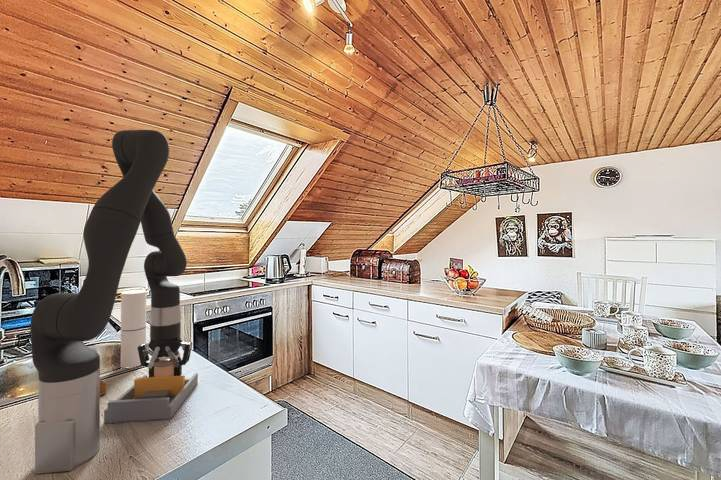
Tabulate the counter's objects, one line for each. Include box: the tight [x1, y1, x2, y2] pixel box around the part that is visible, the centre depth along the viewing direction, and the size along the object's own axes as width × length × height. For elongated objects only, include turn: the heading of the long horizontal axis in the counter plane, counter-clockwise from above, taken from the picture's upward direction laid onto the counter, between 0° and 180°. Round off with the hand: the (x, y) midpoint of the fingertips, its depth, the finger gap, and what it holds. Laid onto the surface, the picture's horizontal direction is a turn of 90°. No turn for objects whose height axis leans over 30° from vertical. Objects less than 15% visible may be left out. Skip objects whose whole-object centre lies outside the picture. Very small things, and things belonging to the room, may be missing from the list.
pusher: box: [133, 375, 186, 399], centre depth 88 cm, size 4×12×5 cm, turn 99°
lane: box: [103, 372, 199, 425], centre depth 87 cm, size 19×15×5 cm
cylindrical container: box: [120, 289, 147, 369], centre depth 111 cm, size 7×7×25 cm
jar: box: [154, 357, 175, 377], centre depth 93 cm, size 6×6×8 cm
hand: (165, 379), depth 93 cm, fingers closed on jar, 5 cm apart
